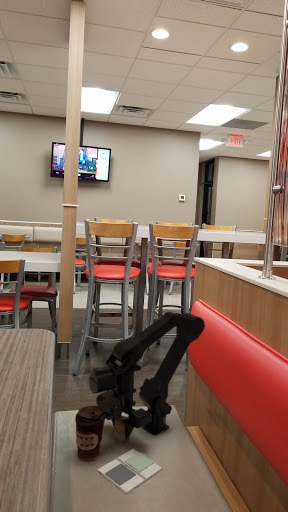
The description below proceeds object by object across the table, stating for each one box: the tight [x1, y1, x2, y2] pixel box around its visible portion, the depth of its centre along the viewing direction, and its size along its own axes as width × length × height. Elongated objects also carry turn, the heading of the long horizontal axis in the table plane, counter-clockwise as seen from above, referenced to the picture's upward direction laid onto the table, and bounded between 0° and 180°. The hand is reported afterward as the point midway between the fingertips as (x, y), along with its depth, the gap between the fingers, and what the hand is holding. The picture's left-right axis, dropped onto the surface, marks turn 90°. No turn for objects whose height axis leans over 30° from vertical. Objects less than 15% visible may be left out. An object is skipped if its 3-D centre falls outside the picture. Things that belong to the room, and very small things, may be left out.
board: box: [97, 448, 163, 495], centre depth 102 cm, size 13×11×1 cm
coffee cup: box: [74, 405, 106, 462], centre depth 107 cm, size 9×8×13 cm
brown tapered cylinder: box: [113, 415, 130, 444], centre depth 115 cm, size 4×4×6 cm
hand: (121, 434), depth 116 cm, fingers closed on brown tapered cylinder, 4 cm apart
